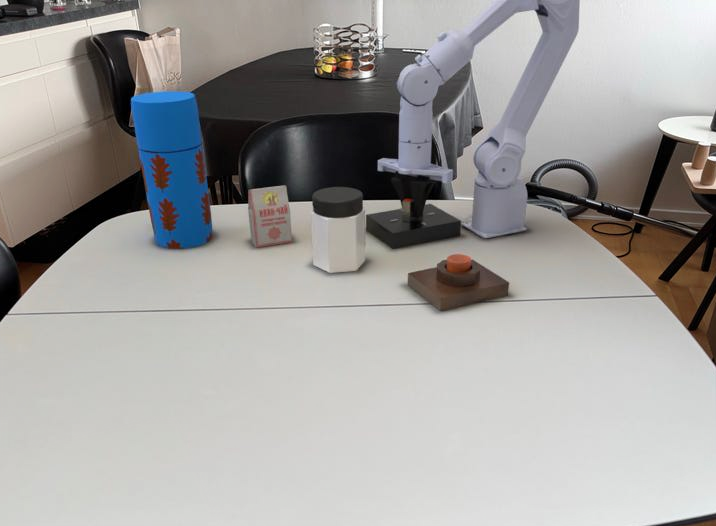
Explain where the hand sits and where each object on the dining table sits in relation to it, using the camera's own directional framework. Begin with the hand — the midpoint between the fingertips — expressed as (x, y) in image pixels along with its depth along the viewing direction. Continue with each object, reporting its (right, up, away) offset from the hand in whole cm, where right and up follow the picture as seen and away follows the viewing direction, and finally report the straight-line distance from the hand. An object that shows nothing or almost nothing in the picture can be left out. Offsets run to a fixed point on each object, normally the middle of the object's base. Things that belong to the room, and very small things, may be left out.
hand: (412, 215), depth 126 cm
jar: (-13, -11, -10) cm, 20 cm away
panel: (0, -3, +2) cm, 3 cm away
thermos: (-42, -4, +1) cm, 43 cm away
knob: (0, 0, 0) cm, 0 cm away
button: (+5, -13, -22) cm, 26 cm away
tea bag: (-26, -5, -1) cm, 27 cm away
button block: (+5, -16, -20) cm, 26 cm away
